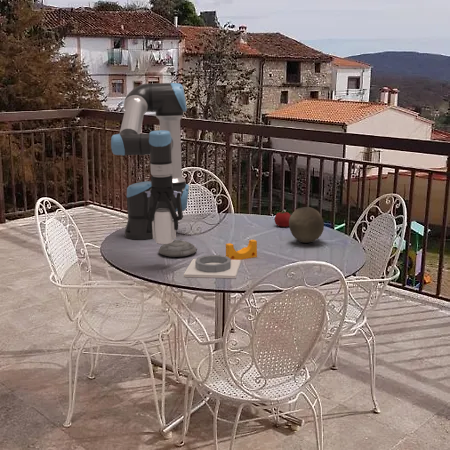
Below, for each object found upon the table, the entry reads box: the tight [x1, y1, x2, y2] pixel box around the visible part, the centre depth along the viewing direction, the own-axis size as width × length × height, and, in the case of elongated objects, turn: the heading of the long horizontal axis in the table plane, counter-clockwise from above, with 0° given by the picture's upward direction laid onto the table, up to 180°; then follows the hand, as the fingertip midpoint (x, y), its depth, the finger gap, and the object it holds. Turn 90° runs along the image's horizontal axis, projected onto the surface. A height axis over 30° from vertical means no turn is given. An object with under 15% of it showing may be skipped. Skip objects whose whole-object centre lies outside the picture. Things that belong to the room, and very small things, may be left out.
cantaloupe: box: [288, 206, 325, 244], centre depth 239 cm, size 14×14×15 cm
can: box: [154, 208, 174, 245], centre depth 211 cm, size 6×6×12 cm
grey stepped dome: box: [158, 239, 198, 258], centre depth 230 cm, size 15×15×6 cm
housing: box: [183, 254, 242, 279], centre depth 209 cm, size 18×18×4 cm
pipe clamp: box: [225, 239, 258, 261], centre depth 222 cm, size 12×4×6 cm, turn 118°
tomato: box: [274, 210, 292, 228], centre depth 269 cm, size 8×8×7 cm
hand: (164, 238), depth 212 cm, fingers closed on can, 6 cm apart
